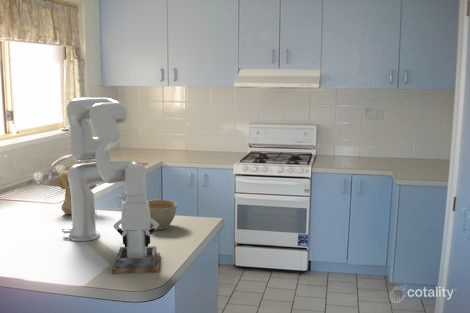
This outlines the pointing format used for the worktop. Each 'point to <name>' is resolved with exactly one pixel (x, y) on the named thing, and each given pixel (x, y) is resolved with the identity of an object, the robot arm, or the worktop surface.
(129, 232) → the skincare box
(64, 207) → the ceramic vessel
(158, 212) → the planter bowl
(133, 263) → the socket stand
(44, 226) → the worktop surface
